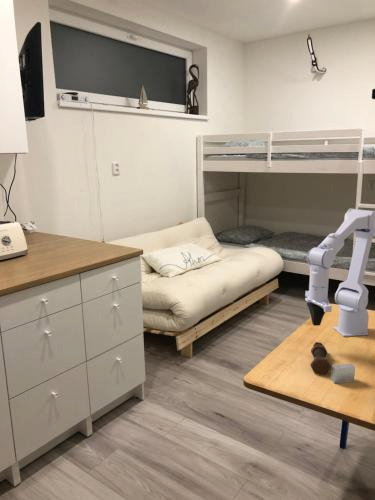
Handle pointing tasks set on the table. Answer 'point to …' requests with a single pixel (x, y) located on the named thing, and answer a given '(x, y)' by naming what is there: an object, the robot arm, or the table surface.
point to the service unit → (342, 373)
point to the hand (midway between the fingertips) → (316, 324)
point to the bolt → (320, 359)
